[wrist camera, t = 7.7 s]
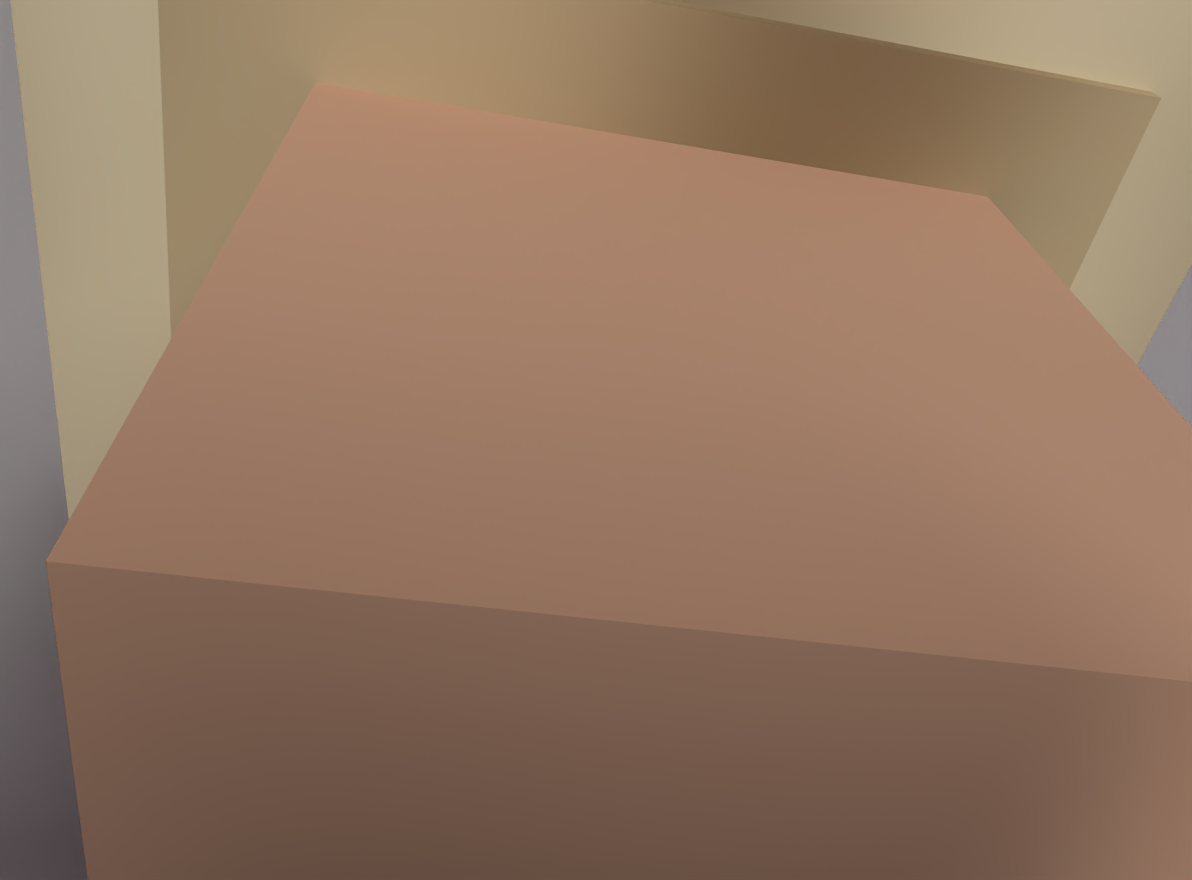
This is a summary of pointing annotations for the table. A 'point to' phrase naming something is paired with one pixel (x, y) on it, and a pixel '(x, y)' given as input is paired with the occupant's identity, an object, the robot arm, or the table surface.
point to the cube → (627, 534)
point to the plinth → (593, 101)
